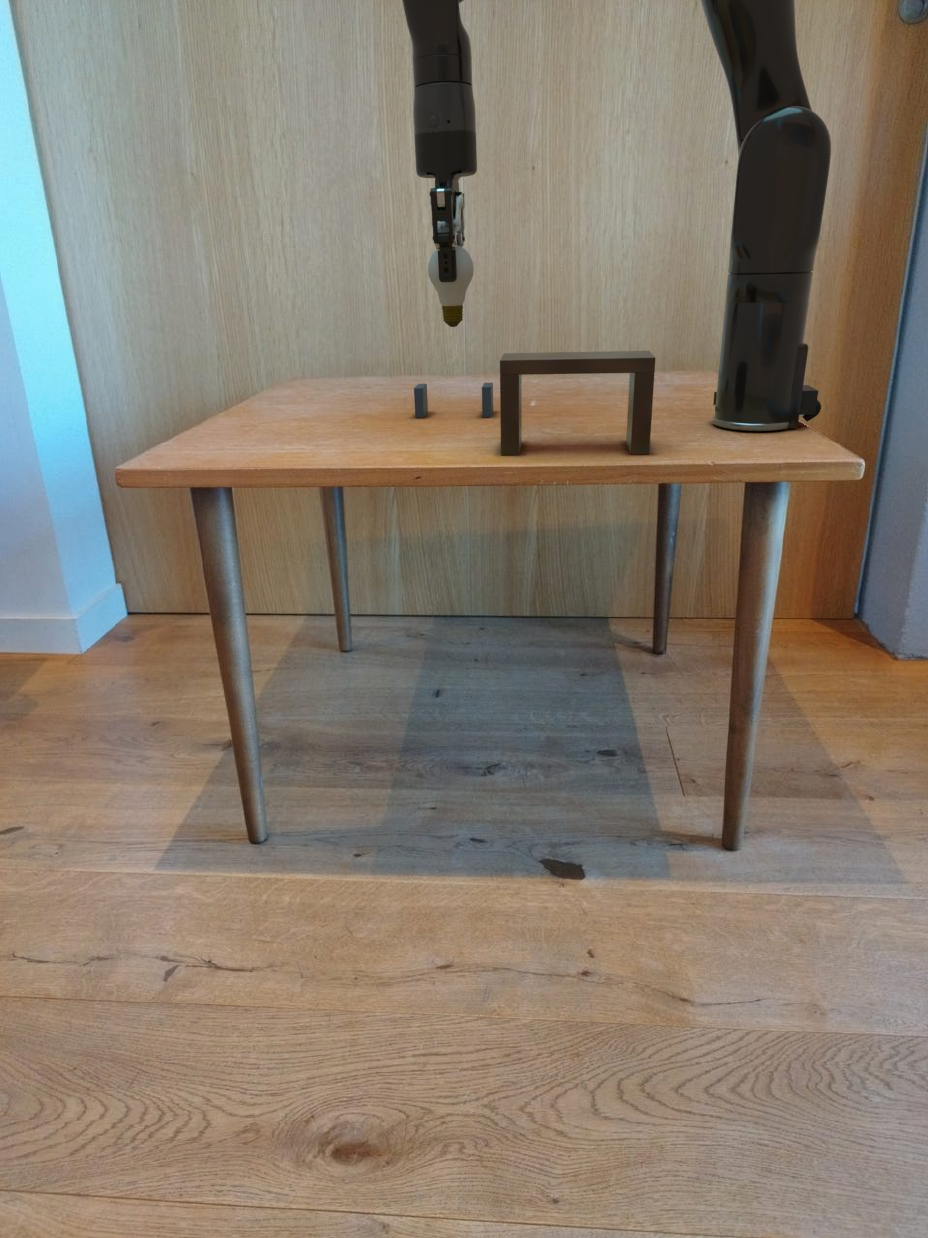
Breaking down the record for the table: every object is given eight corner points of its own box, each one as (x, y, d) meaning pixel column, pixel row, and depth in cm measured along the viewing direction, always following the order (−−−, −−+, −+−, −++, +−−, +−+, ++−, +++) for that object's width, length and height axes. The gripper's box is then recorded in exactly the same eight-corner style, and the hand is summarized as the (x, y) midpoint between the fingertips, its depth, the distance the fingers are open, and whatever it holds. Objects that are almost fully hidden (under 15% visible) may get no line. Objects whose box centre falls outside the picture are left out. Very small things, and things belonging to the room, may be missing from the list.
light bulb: (449, 329, 104) (445, 243, 100) (422, 327, 109) (417, 245, 105) (484, 325, 108) (482, 242, 104) (456, 324, 112) (453, 243, 108)
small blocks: (493, 411, 114) (492, 382, 112) (491, 417, 110) (490, 386, 109) (419, 412, 115) (418, 383, 114) (415, 417, 112) (413, 387, 110)
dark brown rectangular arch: (643, 441, 94) (649, 350, 90) (649, 454, 88) (655, 357, 84) (504, 442, 95) (503, 353, 91) (500, 455, 90) (499, 360, 86)
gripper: (469, 120, 92) (474, 282, 99) (481, 137, 105) (484, 278, 112) (404, 124, 93) (413, 284, 100) (423, 140, 106) (430, 280, 113)
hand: (451, 280), depth 106 cm, fingers closed on light bulb, 6 cm apart
